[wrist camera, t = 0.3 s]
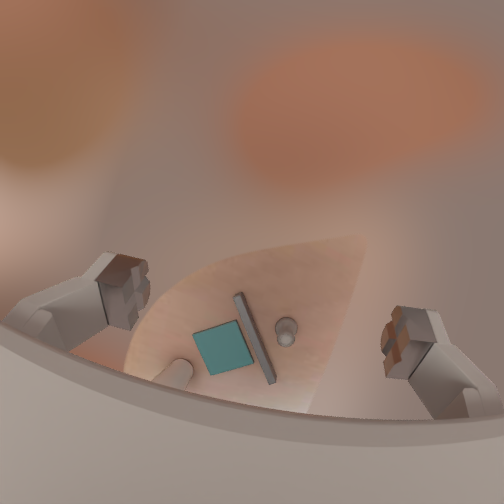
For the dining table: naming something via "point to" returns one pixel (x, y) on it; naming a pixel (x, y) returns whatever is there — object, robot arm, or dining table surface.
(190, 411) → the robot arm
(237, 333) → the coaster
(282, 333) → the rook chess piece
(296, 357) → the dining table surface
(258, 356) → the low wall
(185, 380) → the drinking glass
